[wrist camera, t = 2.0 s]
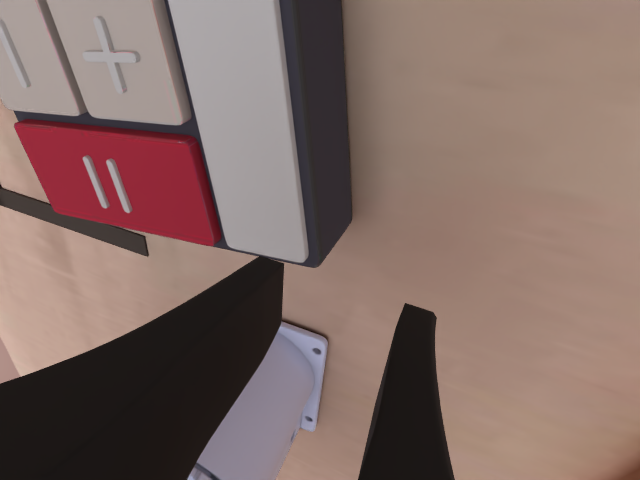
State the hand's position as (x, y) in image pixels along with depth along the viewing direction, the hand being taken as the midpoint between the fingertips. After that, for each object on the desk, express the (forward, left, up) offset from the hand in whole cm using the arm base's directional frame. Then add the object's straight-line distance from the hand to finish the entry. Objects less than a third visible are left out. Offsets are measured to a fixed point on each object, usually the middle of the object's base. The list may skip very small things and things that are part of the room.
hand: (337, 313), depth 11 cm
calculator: (0, +11, -10) cm, 14 cm away
